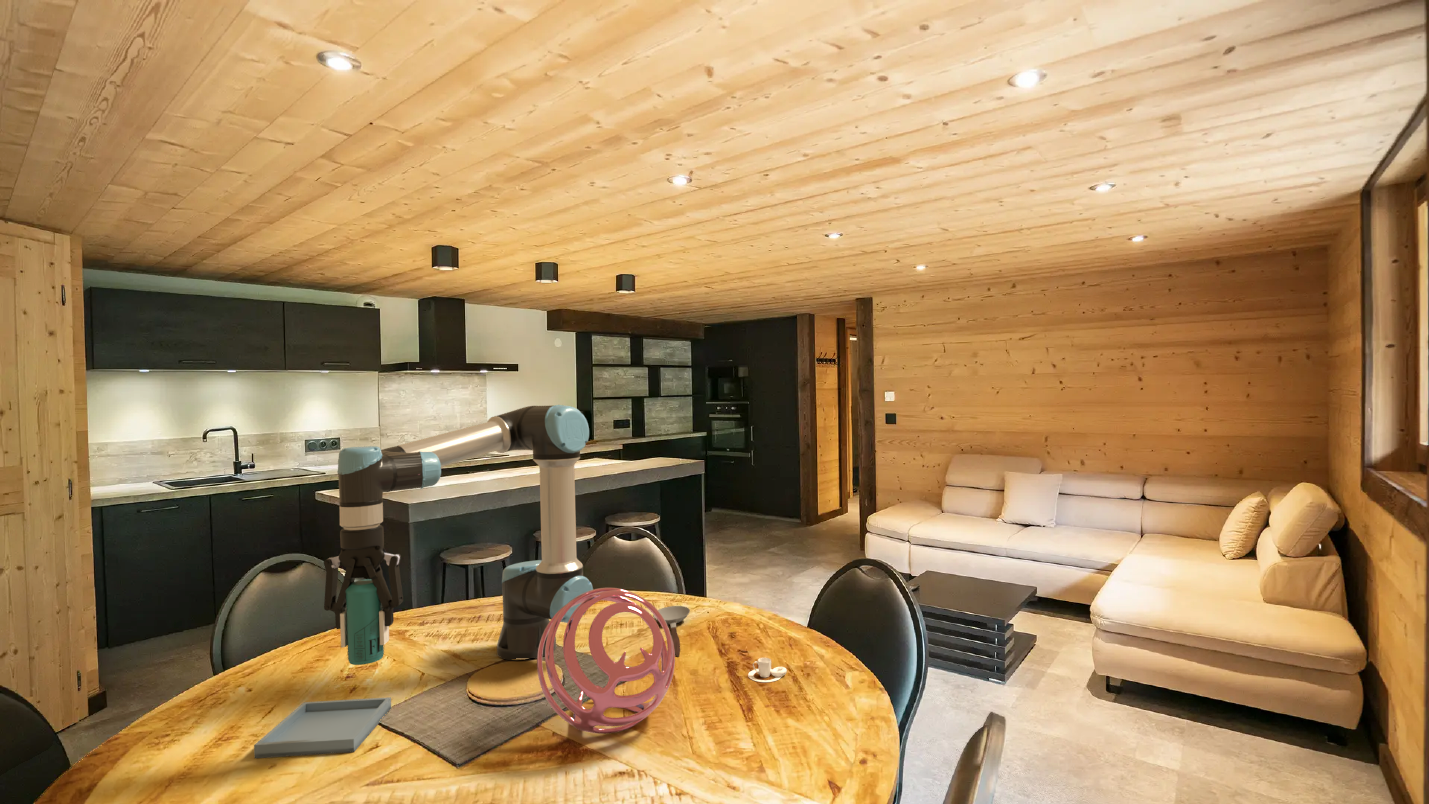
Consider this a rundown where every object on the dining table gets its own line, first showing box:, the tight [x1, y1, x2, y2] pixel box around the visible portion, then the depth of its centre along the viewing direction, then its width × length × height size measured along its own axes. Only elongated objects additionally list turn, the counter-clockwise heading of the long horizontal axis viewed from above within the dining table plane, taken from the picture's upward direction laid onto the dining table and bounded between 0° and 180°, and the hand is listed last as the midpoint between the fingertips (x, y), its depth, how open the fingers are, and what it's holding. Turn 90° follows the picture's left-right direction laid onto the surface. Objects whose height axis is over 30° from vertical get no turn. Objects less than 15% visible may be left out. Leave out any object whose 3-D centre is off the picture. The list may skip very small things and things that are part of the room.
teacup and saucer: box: [747, 657, 788, 683], centre depth 160 cm, size 9×8×4 cm
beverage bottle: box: [346, 566, 385, 666], centre depth 132 cm, size 6×7×20 cm
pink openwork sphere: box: [536, 587, 676, 735], centre depth 140 cm, size 28×28×27 cm
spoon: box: [652, 605, 691, 658], centre depth 189 cm, size 11×33×3 cm, turn 6°
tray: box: [253, 696, 392, 759], centre depth 137 cm, size 18×18×2 cm
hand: (365, 643), depth 133 cm, fingers closed on beverage bottle, 6 cm apart
